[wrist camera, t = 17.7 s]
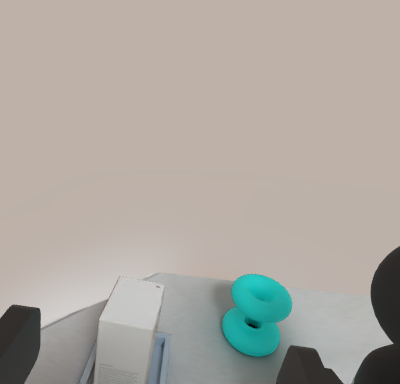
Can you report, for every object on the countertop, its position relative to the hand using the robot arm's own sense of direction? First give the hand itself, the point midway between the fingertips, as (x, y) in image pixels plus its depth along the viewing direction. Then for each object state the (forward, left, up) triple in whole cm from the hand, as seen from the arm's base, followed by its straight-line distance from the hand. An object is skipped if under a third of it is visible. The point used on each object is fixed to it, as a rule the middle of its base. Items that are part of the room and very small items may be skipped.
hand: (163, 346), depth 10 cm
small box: (+3, -23, -31) cm, 39 cm away
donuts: (-16, -34, -32) cm, 50 cm away
